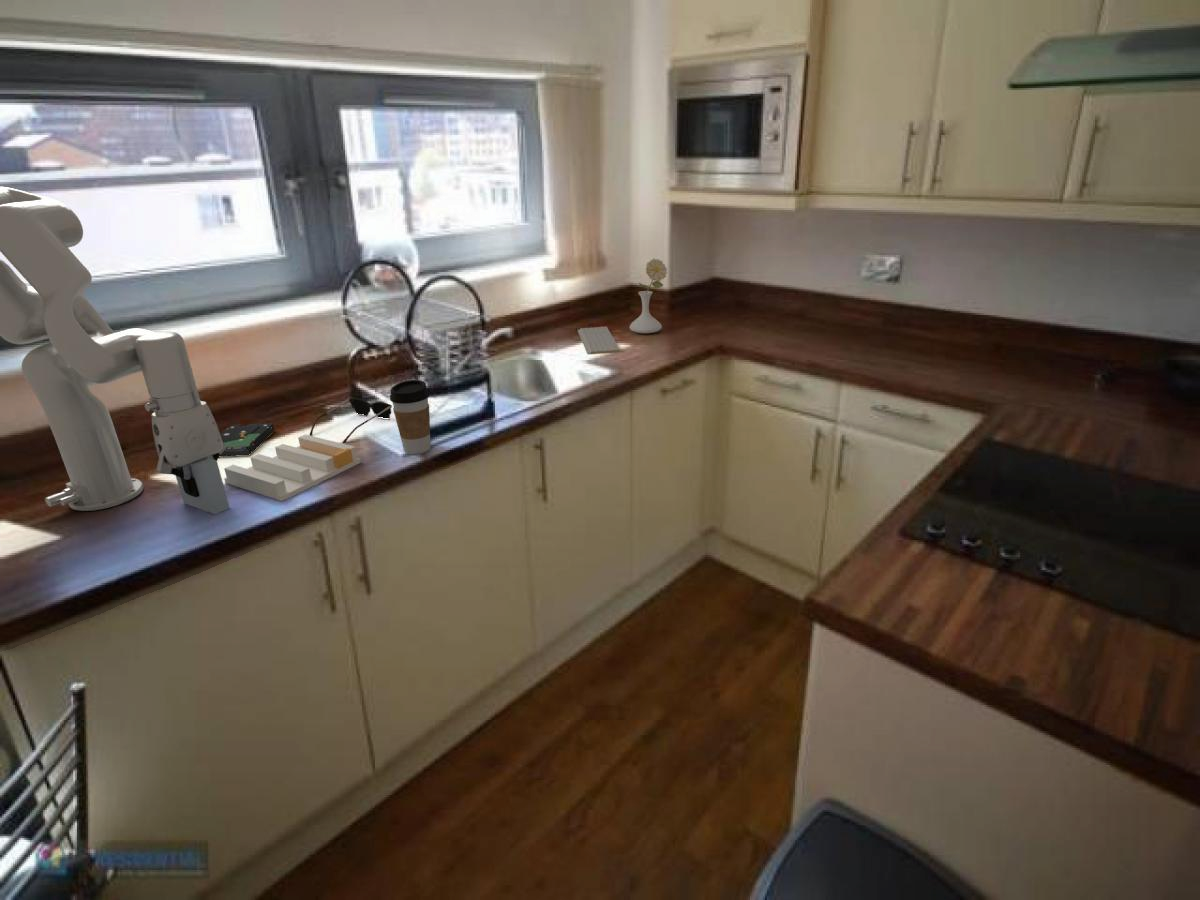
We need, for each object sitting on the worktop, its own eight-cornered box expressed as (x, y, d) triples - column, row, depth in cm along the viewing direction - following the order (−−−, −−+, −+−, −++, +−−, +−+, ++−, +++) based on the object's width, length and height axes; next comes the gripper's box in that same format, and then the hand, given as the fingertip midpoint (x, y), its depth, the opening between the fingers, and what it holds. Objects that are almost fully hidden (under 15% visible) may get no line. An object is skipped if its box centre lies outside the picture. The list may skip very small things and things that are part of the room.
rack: (282, 501, 137) (277, 482, 136) (225, 482, 146) (220, 465, 144) (361, 462, 153) (358, 445, 152) (305, 447, 162) (302, 431, 160)
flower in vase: (631, 336, 242) (630, 262, 232) (627, 328, 253) (626, 257, 243) (669, 334, 243) (669, 260, 233) (663, 326, 254) (664, 255, 244)
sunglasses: (395, 421, 176) (391, 403, 174) (348, 449, 163) (344, 430, 161) (353, 414, 182) (349, 396, 180) (305, 440, 169) (300, 422, 167)
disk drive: (233, 435, 172) (204, 459, 159) (230, 424, 171) (200, 448, 157) (276, 433, 172) (250, 457, 159) (273, 422, 171) (247, 445, 158)
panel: (215, 514, 133) (201, 466, 129) (184, 503, 138) (169, 456, 134) (229, 507, 136) (216, 460, 132) (198, 496, 140) (185, 450, 136)
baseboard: (582, 356, 224) (620, 354, 226) (582, 347, 223) (620, 345, 225) (573, 332, 253) (606, 330, 254) (573, 324, 251) (606, 322, 253)
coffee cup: (443, 443, 161) (435, 380, 155) (424, 458, 154) (414, 393, 148) (411, 440, 164) (401, 378, 158) (390, 454, 157) (380, 390, 150)
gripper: (142, 419, 120) (172, 514, 127) (230, 390, 133) (252, 478, 140) (118, 412, 123) (148, 505, 131) (206, 385, 136) (229, 471, 144)
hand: (202, 490), depth 135 cm, fingers closed on panel, 3 cm apart
